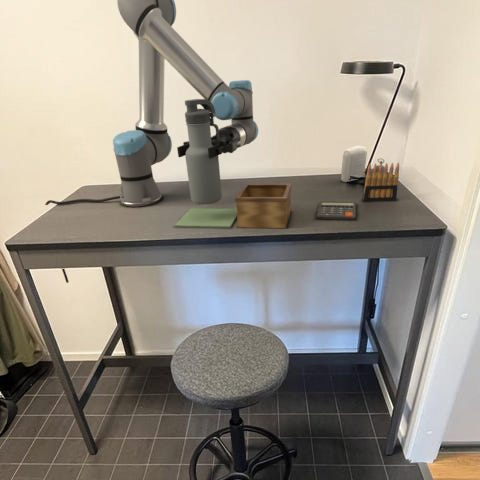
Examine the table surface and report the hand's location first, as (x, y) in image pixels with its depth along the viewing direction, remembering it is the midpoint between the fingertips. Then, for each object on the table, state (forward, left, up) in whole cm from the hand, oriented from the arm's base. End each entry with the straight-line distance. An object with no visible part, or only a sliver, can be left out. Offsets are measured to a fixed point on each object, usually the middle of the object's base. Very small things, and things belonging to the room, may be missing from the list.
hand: (193, 152), depth 114 cm
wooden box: (+20, +4, -21) cm, 29 cm away
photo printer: (+48, +50, -21) cm, 72 cm away
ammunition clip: (+56, +24, -21) cm, 64 cm away
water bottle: (+1, +4, -15) cm, 16 cm away
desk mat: (+1, +4, -21) cm, 21 cm away
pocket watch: (+58, +42, -21) cm, 74 cm away
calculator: (+42, +12, -21) cm, 48 cm away
